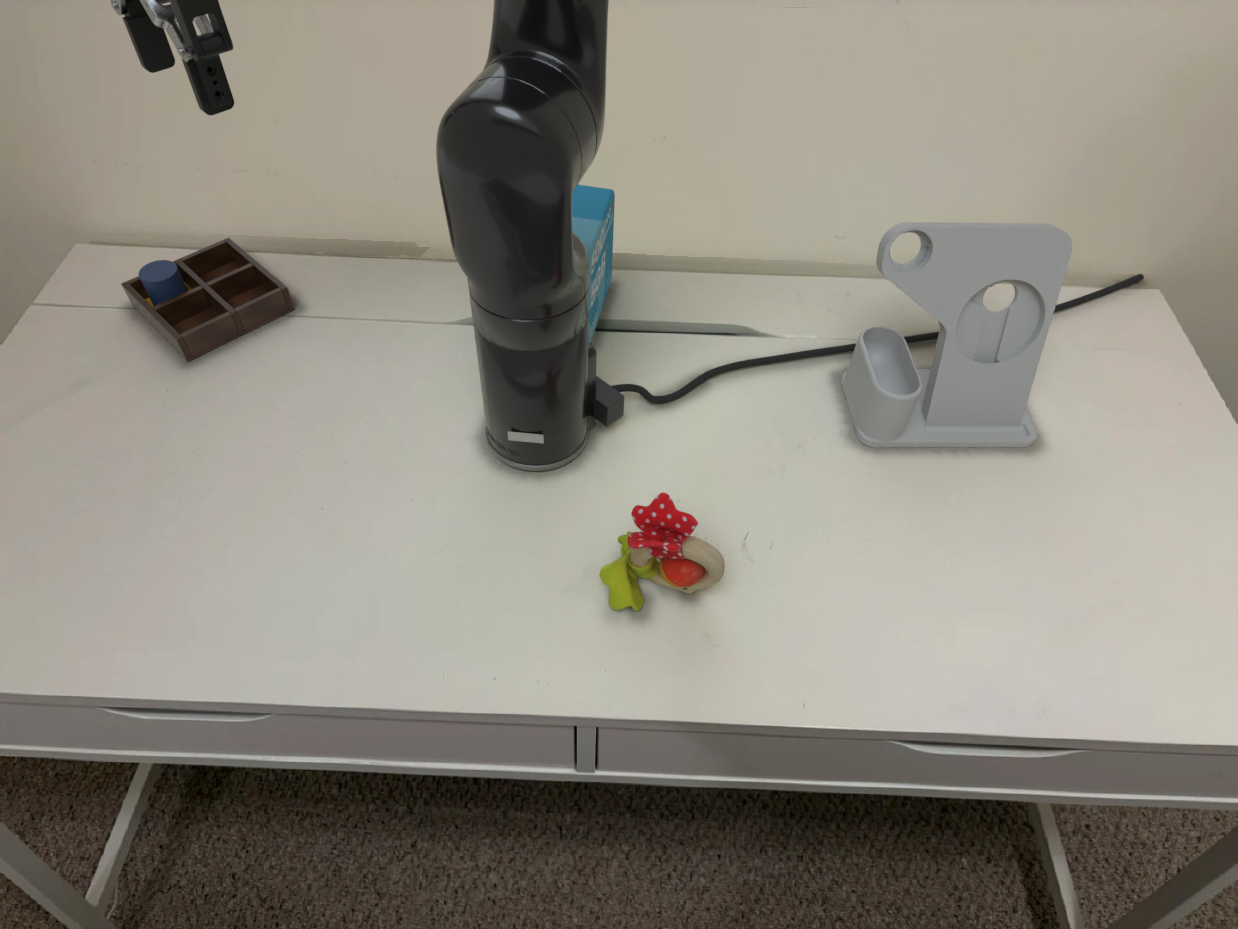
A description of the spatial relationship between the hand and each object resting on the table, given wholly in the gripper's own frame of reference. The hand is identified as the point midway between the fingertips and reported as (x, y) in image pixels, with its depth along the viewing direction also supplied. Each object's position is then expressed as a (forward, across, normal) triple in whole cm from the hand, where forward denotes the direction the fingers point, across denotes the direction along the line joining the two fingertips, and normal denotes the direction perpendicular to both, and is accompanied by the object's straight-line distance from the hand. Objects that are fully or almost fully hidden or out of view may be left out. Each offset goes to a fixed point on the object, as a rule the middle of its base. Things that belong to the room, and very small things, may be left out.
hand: (188, 88), depth 58 cm
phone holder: (+28, -46, -42) cm, 68 cm away
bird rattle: (+28, -41, -8) cm, 50 cm away
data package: (+28, -12, -27) cm, 41 cm away
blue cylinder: (+27, +17, +3) cm, 33 cm away
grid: (+28, +14, 0) cm, 32 cm away
